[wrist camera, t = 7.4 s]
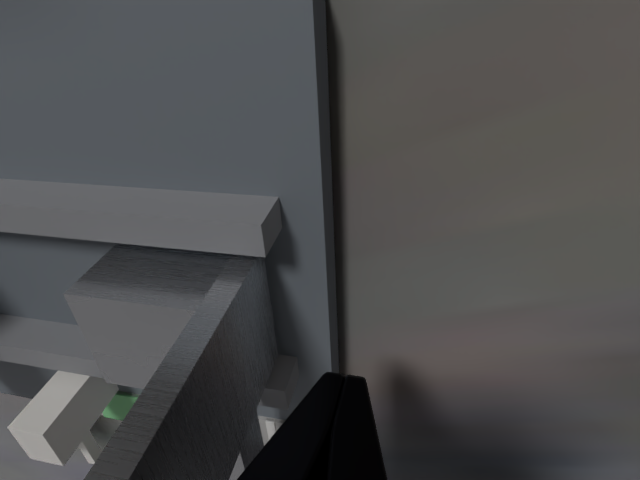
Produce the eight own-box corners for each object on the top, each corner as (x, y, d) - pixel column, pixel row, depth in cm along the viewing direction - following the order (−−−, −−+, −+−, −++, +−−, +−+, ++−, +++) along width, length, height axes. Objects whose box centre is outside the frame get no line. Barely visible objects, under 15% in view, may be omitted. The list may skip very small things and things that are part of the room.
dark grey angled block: (263, 247, 10) (118, 495, 6) (287, 414, 14) (211, 650, 9) (113, 233, 11) (-118, 440, 7) (172, 394, 15) (50, 602, 10)
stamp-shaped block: (104, 358, 15) (42, 434, 12) (135, 423, 17) (86, 499, 14) (73, 353, 15) (7, 427, 13) (107, 418, 17) (55, 492, 15)
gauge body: (324, -17, 8) (60, 81, 2) (341, 430, 16) (286, 700, 10) (-217, 5, 11) (-899, 72, 5) (20, 373, 19) (-160, 557, 13)
